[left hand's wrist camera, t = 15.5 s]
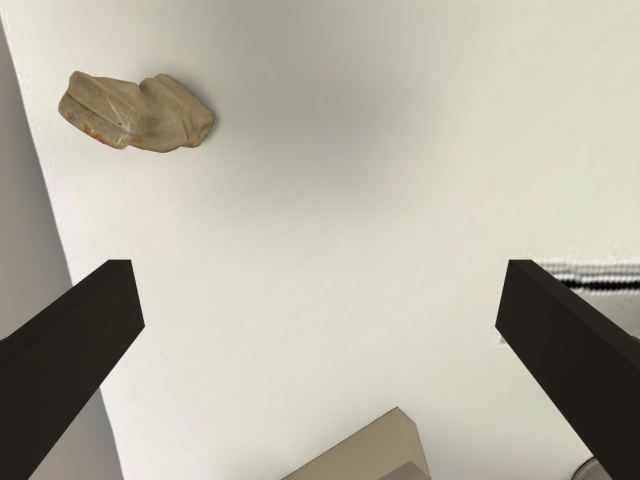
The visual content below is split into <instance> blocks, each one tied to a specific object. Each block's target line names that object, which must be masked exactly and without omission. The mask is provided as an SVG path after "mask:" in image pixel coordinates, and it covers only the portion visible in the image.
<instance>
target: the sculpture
mask: <svg viewBox="0 0 640 480" xmlns="http://www.w3.org/2000/svg"><path fill="white" fill-rule="evenodd" d="M58 110H59V113H60V114H61V115H62V117H64V118H65V119H66V120H67V121H68V122H69V123H71V124H72V125H74V126H75V127H76V128H78V129H79V130H81V131H83V132H84V133H86V134H87V135H89V136H91V137H92V138H94V139H96V140H98V141H100V142H101V143H103V144H106V145H108V146H111V147H113V148H116V149H124V148H126V147H127V146H128V145H131V146H134V147H137V148H139V149H143V150H150V151H155V152H160V153H166V152H170V151H172V150H175V149H177V148H179V147H181V146H183V147H189V148H194V147H198V146H199V145H200V144H201V143H202V142H203V141H204V139H205V138H206V136H207V135H208V133H209V132H210V130H211V128H212V125H213V119H214V117H215V115H214V114H213V113H212V112H211V111H210V110H209V109H207V108H206V107H205V106H204V105H203V104H202V103H201V102H200V101H199V100H198V99H197V98H196V97H195V96H194V95H193V94H192V93H190V92H189V91H188V90H187V89H186V88H184V87H183V86H182V85H180V84H179V83H178V82H176V81H175V80H174V79H172V78H171V77H169V76H168V75H166V74H159V75H157V76H155V77H154V79H152V78H147V79H145V80H143V81H142V82H141V83H140V85H139V86H138V85H137V84H135V83H132V82H127V81H121V80H116V79H112V78H106V77H92V76H90V75H88V74H85V73H82V72H79V71H75V72H74V73H73V74H72V75H71V76H70V78H69V87H68V89H67V91H66V92H65V94H64V95H63V97H62V99H61V101H60V102H59V107H58Z"/></svg>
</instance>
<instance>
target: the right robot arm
mask: <svg viewBox="0 0 640 480" xmlns="http://www.w3.org/2000/svg"><path fill="white" fill-rule="evenodd" d="M573 480H612V479H611V477H610V476H609V475H608V474H607V472H606V471H605V470H604V468H603V467H602V466H601V464H600V463H599V462H598V460H597V459H596V458H593V459H592V460H590V461H589V462H587V463H586V464H585V465H584V466H582V467H581V468H580V469H579V471H578V472H577V473H576V474H575V476H574V478H573Z"/></svg>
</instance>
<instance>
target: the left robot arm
mask: <svg viewBox="0 0 640 480" xmlns="http://www.w3.org/2000/svg"><path fill="white" fill-rule="evenodd" d="M144 327H145V324H144V319H143V315H142V310H141V305H140V300H139V296H138V291H137V286H136V281H135V277H134V272H133V267H132V263H131V260H108V261H106V262H105V263H104V264H102V265H101V266H100V267H99V268H97V269H96V270H95V271H93V272H92V273H91V274H89V275H88V276H87V277H85V278H84V279H83V280H82V281H80V282H79V283H78V284H76V285H75V286H74V287H72V288H71V289H70V290H68V291H67V292H66V293H65V294H63V295H62V296H61V297H59V298H58V299H57V300H55V301H54V302H53V303H51V304H50V305H49V306H48V307H46V308H45V309H44V310H42V311H41V312H40V313H38V314H37V315H36V316H34V317H33V318H32V319H31V320H29V321H28V322H27V323H25V324H24V325H23V326H21V327H20V328H19V329H18V330H16V331H15V332H14V333H12V334H11V335H10V336H8V337H6V338H4V339H2V340H1V341H0V480H28V479H29V477H30V476H31V475H32V474H33V472H34V471H35V470H36V468H37V467H38V466H39V464H40V463H41V462H42V460H43V459H44V458H45V457H46V455H47V454H48V453H49V451H50V450H51V449H52V447H53V446H54V445H55V443H56V442H57V441H58V440H59V438H60V437H61V436H62V434H63V433H64V432H65V430H66V429H67V428H68V427H69V425H70V424H71V423H72V421H73V420H74V419H75V417H76V416H77V415H78V413H79V412H80V411H81V410H82V408H83V407H84V406H85V404H86V403H87V402H88V400H89V399H90V398H91V396H92V395H93V394H94V393H95V391H96V390H97V389H98V387H99V386H100V385H101V383H102V382H103V381H104V379H105V378H106V377H107V376H108V374H109V373H110V372H111V370H112V369H113V368H114V366H115V365H116V364H117V363H118V361H119V360H120V359H121V357H122V356H123V355H124V353H125V352H126V351H127V349H128V348H129V347H130V346H131V344H132V343H133V342H134V340H135V339H136V338H137V336H138V335H139V334H140V332H141V331H142V330H143V329H144ZM495 327H496V329H497V330H498V331H499V332H500V334H501V335H502V336H503V338H504V339H505V340H506V342H507V343H508V344H509V346H510V347H511V348H512V349H513V351H514V352H515V353H516V355H517V356H518V357H519V359H520V360H521V361H522V363H523V364H524V365H525V366H526V368H527V369H528V370H529V372H530V373H531V374H532V376H533V377H534V378H535V379H536V381H537V382H538V383H539V385H540V386H541V387H542V389H543V390H544V391H545V393H546V394H547V395H548V396H549V398H550V399H551V400H552V402H553V403H554V404H555V406H556V407H557V408H558V410H559V411H560V412H561V413H562V415H563V416H564V417H565V419H566V420H567V421H568V423H569V424H570V425H571V427H572V428H573V429H574V430H575V432H576V433H577V434H578V436H579V437H580V438H581V440H582V441H583V442H584V443H585V445H586V446H587V447H588V449H589V450H590V451H591V453H592V454H593V455H594V457H595V458H596V459H597V460H598V462H599V463H600V464H601V466H602V467H603V468H604V470H605V471H606V472H607V474H608V475H609V476H610V477H611V479H612V480H640V339H639V338H637V337H635V336H630V335H629V334H628V333H626V332H625V331H624V330H622V329H621V328H620V327H619V326H617V325H616V324H615V323H613V322H612V321H611V320H609V319H608V318H607V317H606V316H604V315H603V314H602V313H600V312H599V311H598V310H596V309H595V308H594V307H592V306H591V305H590V304H589V303H587V302H586V301H585V300H583V299H582V298H581V297H579V296H578V295H577V294H575V293H574V292H573V291H572V290H570V289H569V288H568V287H566V286H565V285H564V284H562V283H561V282H560V281H558V280H557V279H556V278H555V277H553V276H552V275H551V274H549V273H548V272H547V271H545V270H544V269H543V268H541V267H540V266H539V265H538V264H536V263H535V262H534V261H532V260H509V263H508V267H507V272H506V277H505V281H504V286H503V291H502V296H501V300H500V305H499V310H498V315H497V319H496V324H495Z"/></svg>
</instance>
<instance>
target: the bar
mask: <svg viewBox="0 0 640 480" xmlns="http://www.w3.org/2000/svg"><path fill="white" fill-rule="evenodd" d="M282 480H431V476H430V472H429V469H428V465H427V462H426V458H425V455H424V452H423V448H422V445H421V441H420V438H419V434H418V431H417V428H416V424H415V423H414V422H413V421H411V420H410V419H409V418H408V417H407V416H406V415H405V414H404V413H403V412H402V411H401V410H400V409H399V408H398V407H396V408H395V409H393V410H392V411H390V412H389V413H387V414H385V415H384V416H382V417H381V418H379V419H377V420H376V421H374V422H373V423H371V424H370V425H368V426H366V427H365V428H363V429H362V430H360V431H358V432H357V433H355V434H354V435H352V436H351V437H349V438H347V439H346V440H344V441H343V442H341V443H339V444H338V445H336V446H335V447H333V448H332V449H330V450H328V451H327V452H325V453H324V454H322V455H320V456H319V457H317V458H316V459H314V460H313V461H311V462H309V463H308V464H306V465H305V466H303V467H301V468H300V469H298V470H297V471H295V472H294V473H292V474H290V475H289V476H287V477H286V478H284V479H282Z"/></svg>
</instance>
